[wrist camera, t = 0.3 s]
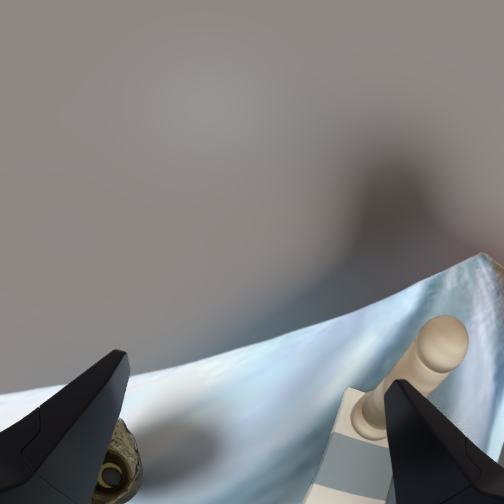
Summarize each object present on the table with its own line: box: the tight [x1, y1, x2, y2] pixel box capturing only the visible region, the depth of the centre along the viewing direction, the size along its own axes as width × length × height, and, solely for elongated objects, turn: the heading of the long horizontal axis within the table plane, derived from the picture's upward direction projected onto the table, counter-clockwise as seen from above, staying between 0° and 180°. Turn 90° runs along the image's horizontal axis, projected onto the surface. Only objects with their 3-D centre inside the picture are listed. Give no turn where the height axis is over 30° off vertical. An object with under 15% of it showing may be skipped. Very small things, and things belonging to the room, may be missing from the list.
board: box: [302, 387, 393, 504], centre depth 16 cm, size 22×7×1 cm, turn 155°
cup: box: [90, 418, 142, 504], centre depth 13 cm, size 8×7×8 cm
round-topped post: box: [350, 315, 469, 441], centre depth 19 cm, size 5×5×14 cm
